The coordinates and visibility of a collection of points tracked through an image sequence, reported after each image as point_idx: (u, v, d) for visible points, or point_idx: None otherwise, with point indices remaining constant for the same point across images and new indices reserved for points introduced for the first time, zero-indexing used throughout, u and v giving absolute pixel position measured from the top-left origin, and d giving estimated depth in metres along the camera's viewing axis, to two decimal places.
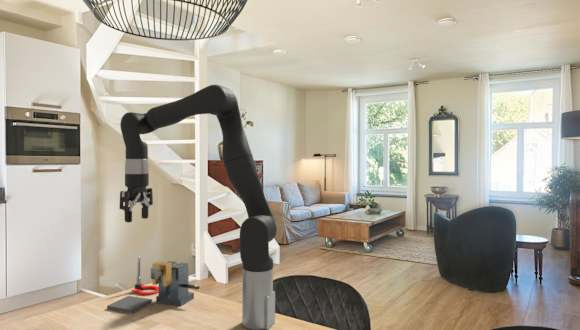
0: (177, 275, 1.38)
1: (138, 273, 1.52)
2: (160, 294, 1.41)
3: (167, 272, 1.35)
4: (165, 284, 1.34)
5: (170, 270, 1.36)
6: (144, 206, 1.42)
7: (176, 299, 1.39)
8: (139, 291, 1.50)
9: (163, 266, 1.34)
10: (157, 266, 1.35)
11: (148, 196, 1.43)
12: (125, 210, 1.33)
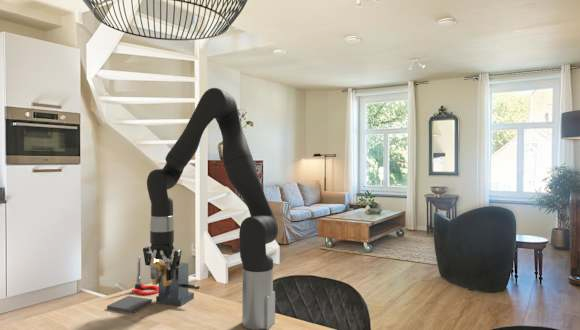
0: (177, 275, 1.38)
1: (138, 273, 1.52)
2: (160, 294, 1.41)
3: None
4: (165, 284, 1.34)
5: None
6: None
7: (176, 299, 1.39)
8: (139, 291, 1.50)
9: (163, 266, 1.34)
10: (157, 266, 1.35)
11: (150, 255, 1.38)
12: (172, 268, 1.35)
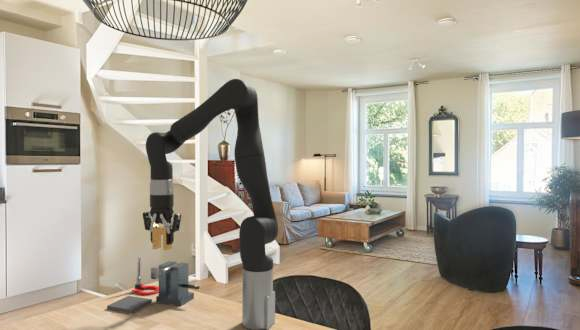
0: (177, 275, 1.38)
1: (138, 273, 1.52)
2: (160, 294, 1.41)
3: None
4: (165, 248, 1.34)
5: None
6: None
7: (176, 299, 1.39)
8: (139, 291, 1.50)
9: (163, 230, 1.34)
10: (157, 230, 1.35)
11: (149, 219, 1.38)
12: (172, 232, 1.34)
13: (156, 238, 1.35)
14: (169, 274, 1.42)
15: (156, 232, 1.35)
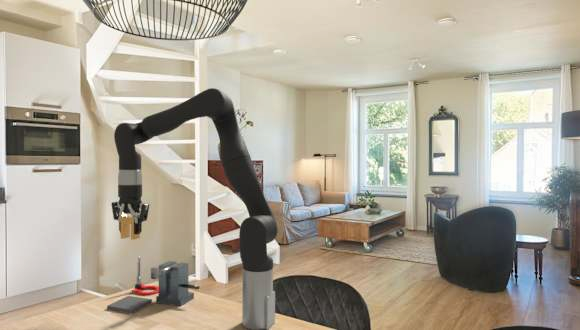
0: (177, 275, 1.38)
1: (138, 273, 1.52)
2: (160, 294, 1.41)
3: None
4: (133, 237, 1.35)
5: None
6: None
7: (176, 299, 1.39)
8: (139, 291, 1.50)
9: (131, 219, 1.35)
10: (125, 220, 1.36)
11: (118, 209, 1.39)
12: (140, 222, 1.35)
13: (124, 227, 1.37)
14: (169, 274, 1.42)
15: (124, 222, 1.36)
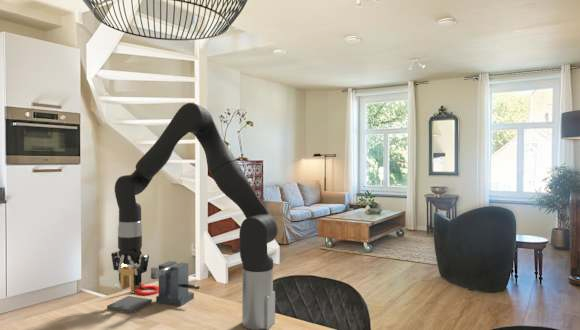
0: (177, 275, 1.38)
1: None
2: (160, 294, 1.41)
3: None
4: (133, 289, 1.36)
5: None
6: None
7: (176, 299, 1.39)
8: (139, 291, 1.50)
9: (131, 271, 1.36)
10: (125, 271, 1.36)
11: (118, 259, 1.39)
12: (140, 273, 1.36)
13: (124, 278, 1.37)
14: (169, 274, 1.42)
15: (124, 273, 1.36)
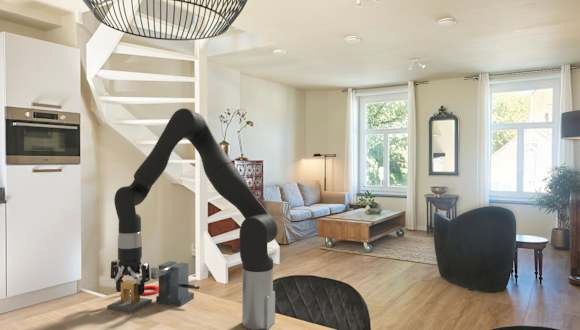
0: (177, 275, 1.38)
1: None
2: (160, 294, 1.41)
3: (135, 291, 1.36)
4: (133, 303, 1.36)
5: None
6: (120, 279, 1.39)
7: (176, 299, 1.39)
8: None
9: (131, 285, 1.36)
10: (125, 285, 1.36)
11: (117, 268, 1.40)
12: (143, 283, 1.36)
13: (124, 292, 1.37)
14: (169, 274, 1.42)
15: (124, 287, 1.37)
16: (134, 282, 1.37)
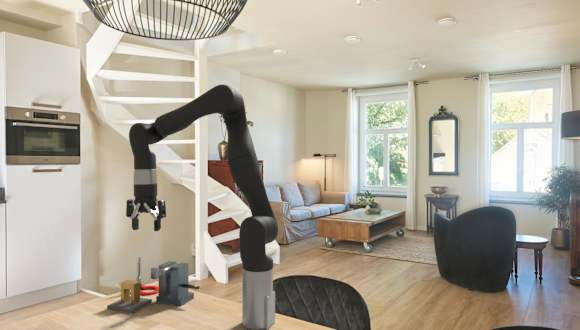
0: (177, 275, 1.38)
1: (138, 273, 1.52)
2: (160, 294, 1.41)
3: (135, 291, 1.36)
4: (133, 303, 1.36)
5: (138, 289, 1.38)
6: (135, 217, 1.40)
7: (176, 299, 1.39)
8: None
9: (131, 285, 1.36)
10: (125, 285, 1.36)
11: (132, 207, 1.40)
12: (159, 219, 1.36)
13: (124, 292, 1.37)
14: (169, 274, 1.42)
15: (124, 287, 1.37)
16: (134, 282, 1.37)
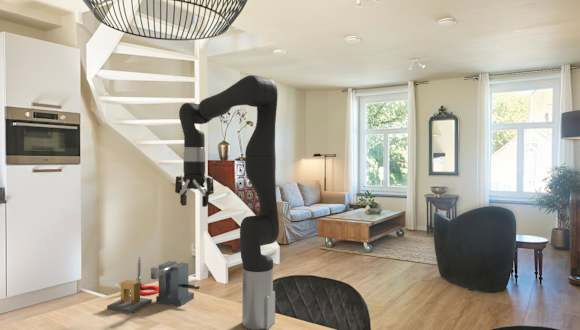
0: (177, 275, 1.38)
1: (138, 273, 1.52)
2: (160, 294, 1.41)
3: (135, 291, 1.36)
4: (133, 303, 1.36)
5: (138, 289, 1.38)
6: (184, 193, 1.46)
7: (176, 299, 1.39)
8: None
9: (131, 285, 1.36)
10: (125, 285, 1.36)
11: (181, 184, 1.47)
12: (207, 195, 1.43)
13: (124, 292, 1.37)
14: (169, 274, 1.42)
15: (124, 287, 1.37)
16: (134, 282, 1.37)
